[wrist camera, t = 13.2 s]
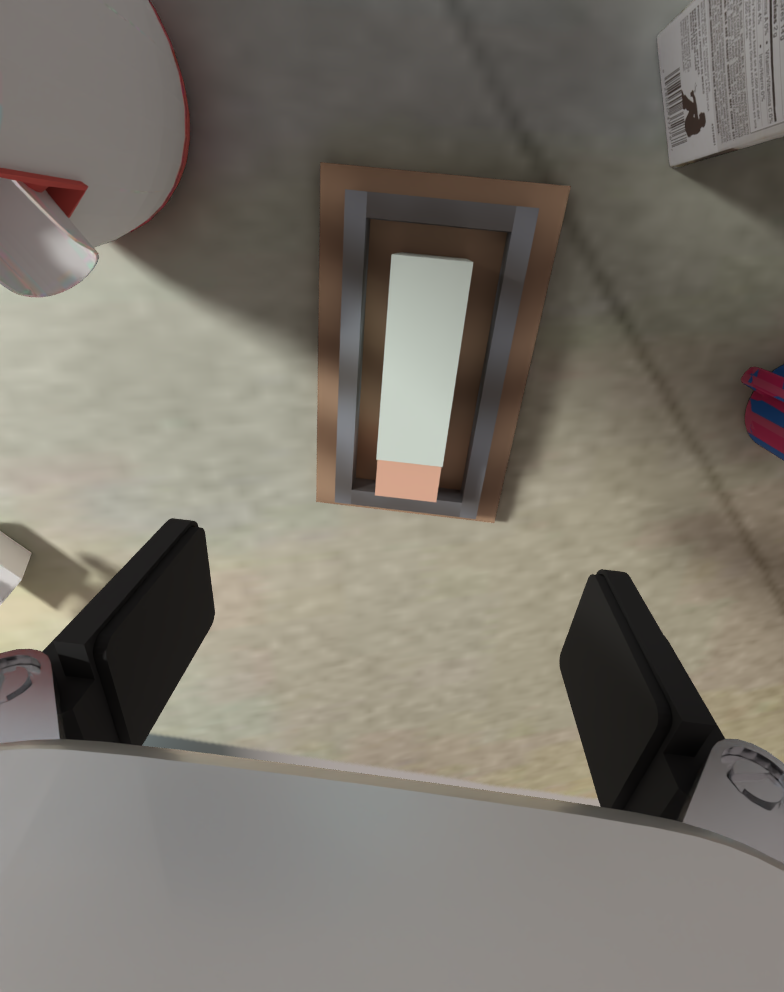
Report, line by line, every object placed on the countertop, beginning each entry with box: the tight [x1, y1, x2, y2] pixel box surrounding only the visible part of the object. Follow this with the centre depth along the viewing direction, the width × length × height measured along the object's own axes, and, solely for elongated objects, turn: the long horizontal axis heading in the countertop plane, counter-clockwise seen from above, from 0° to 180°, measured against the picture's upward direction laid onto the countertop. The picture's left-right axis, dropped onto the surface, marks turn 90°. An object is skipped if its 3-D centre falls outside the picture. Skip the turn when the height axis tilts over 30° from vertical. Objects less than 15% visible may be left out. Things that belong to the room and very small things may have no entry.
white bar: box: [375, 252, 473, 502], centre depth 29 cm, size 14×4×6 cm, turn 175°
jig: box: [316, 162, 571, 523], centre depth 31 cm, size 22×14×3 cm, turn 175°
